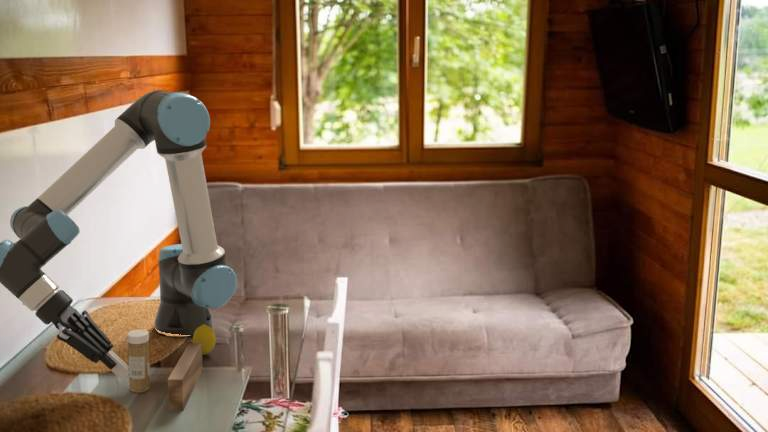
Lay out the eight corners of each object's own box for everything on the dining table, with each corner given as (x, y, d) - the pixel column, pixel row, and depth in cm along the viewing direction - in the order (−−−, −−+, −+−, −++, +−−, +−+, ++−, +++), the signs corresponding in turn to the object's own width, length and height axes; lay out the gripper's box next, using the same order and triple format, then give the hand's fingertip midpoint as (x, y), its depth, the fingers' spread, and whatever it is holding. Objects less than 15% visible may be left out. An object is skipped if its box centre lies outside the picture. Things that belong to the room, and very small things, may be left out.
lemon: (205, 348, 198) (204, 319, 196) (220, 354, 195) (220, 324, 193) (188, 355, 193) (187, 325, 191) (203, 361, 190) (202, 330, 188)
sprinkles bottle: (154, 386, 175) (152, 330, 172) (142, 395, 171) (140, 337, 168) (137, 383, 177) (135, 327, 174) (124, 391, 173) (122, 334, 170)
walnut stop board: (168, 410, 165) (167, 379, 163) (189, 371, 184) (189, 343, 183) (183, 410, 165) (182, 379, 163) (202, 371, 184) (201, 343, 183)
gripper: (47, 302, 176) (124, 373, 180) (22, 322, 163) (105, 398, 167) (70, 280, 175) (147, 352, 179) (46, 299, 162) (129, 376, 166)
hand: (126, 374), depth 173 cm, fingers closed
